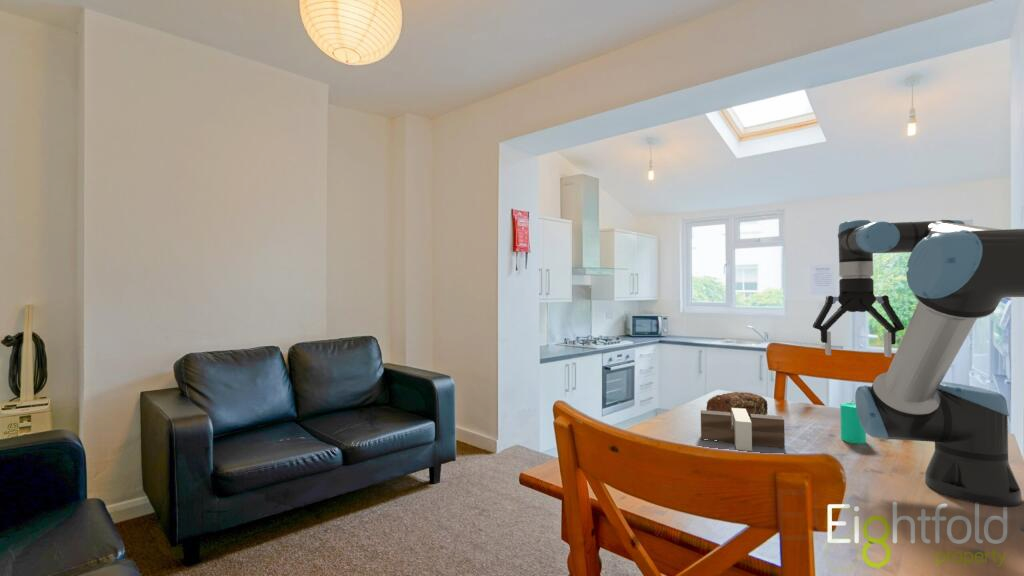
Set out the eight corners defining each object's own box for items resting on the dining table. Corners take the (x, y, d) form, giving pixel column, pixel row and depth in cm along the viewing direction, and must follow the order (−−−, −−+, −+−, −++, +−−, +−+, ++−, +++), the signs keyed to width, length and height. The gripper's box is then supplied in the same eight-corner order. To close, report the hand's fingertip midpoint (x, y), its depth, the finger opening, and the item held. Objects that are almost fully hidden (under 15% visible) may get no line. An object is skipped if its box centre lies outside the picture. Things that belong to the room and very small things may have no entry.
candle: (857, 437, 142) (857, 397, 142) (870, 443, 136) (870, 402, 136) (836, 437, 142) (835, 397, 142) (848, 443, 136) (848, 402, 136)
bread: (731, 430, 151) (731, 399, 151) (704, 422, 161) (704, 393, 161) (769, 422, 159) (769, 393, 159) (742, 415, 169) (741, 387, 169)
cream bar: (752, 451, 131) (751, 422, 131) (736, 449, 132) (735, 421, 132) (746, 434, 146) (745, 408, 146) (731, 433, 147) (731, 407, 147)
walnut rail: (784, 447, 133) (784, 419, 133) (701, 439, 141) (700, 413, 141) (782, 443, 137) (781, 416, 137) (701, 436, 145) (700, 410, 145)
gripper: (906, 277, 127) (908, 355, 127) (800, 279, 136) (801, 352, 136) (919, 276, 120) (920, 359, 120) (806, 278, 129) (807, 355, 129)
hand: (857, 355), depth 128 cm, fingers open, 13 cm apart
